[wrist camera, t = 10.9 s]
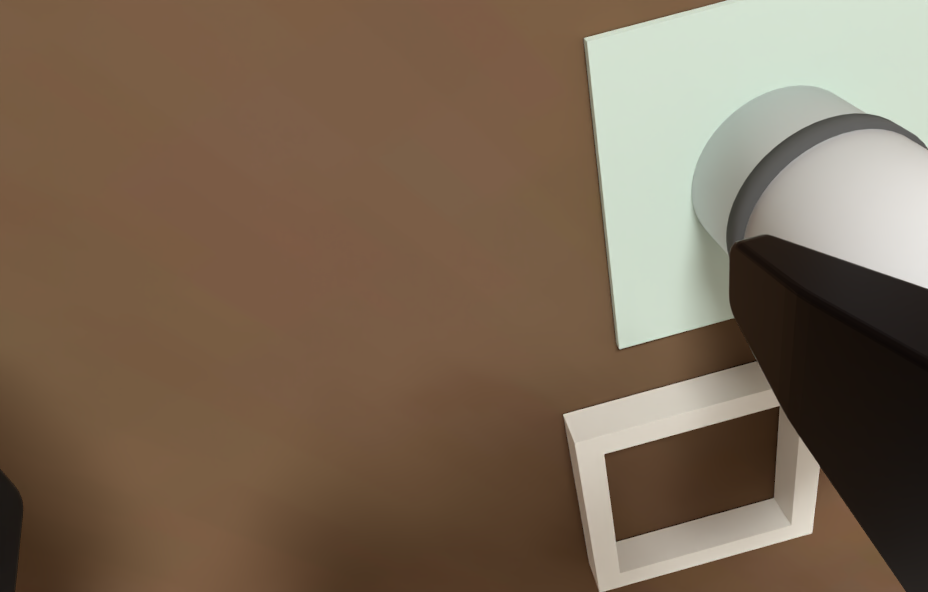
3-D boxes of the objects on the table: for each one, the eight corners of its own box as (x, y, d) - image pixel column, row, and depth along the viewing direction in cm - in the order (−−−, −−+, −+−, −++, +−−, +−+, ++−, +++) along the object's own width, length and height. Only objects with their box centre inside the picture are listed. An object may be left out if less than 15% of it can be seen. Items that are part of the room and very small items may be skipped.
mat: (616, 344, 27) (619, 349, 27) (583, 38, 21) (587, 41, 20) (912, 263, 27) (917, 268, 27) (971, -64, 21) (979, -62, 21)
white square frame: (589, 563, 34) (599, 592, 33) (563, 414, 29) (574, 443, 27) (794, 506, 34) (812, 532, 33) (808, 347, 29) (830, 372, 28)
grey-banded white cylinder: (729, 280, 26) (1028, 632, 15) (656, 160, 23) (966, 496, 12) (884, 180, 25) (1325, 487, 14) (829, 39, 22) (1341, 295, 11)
